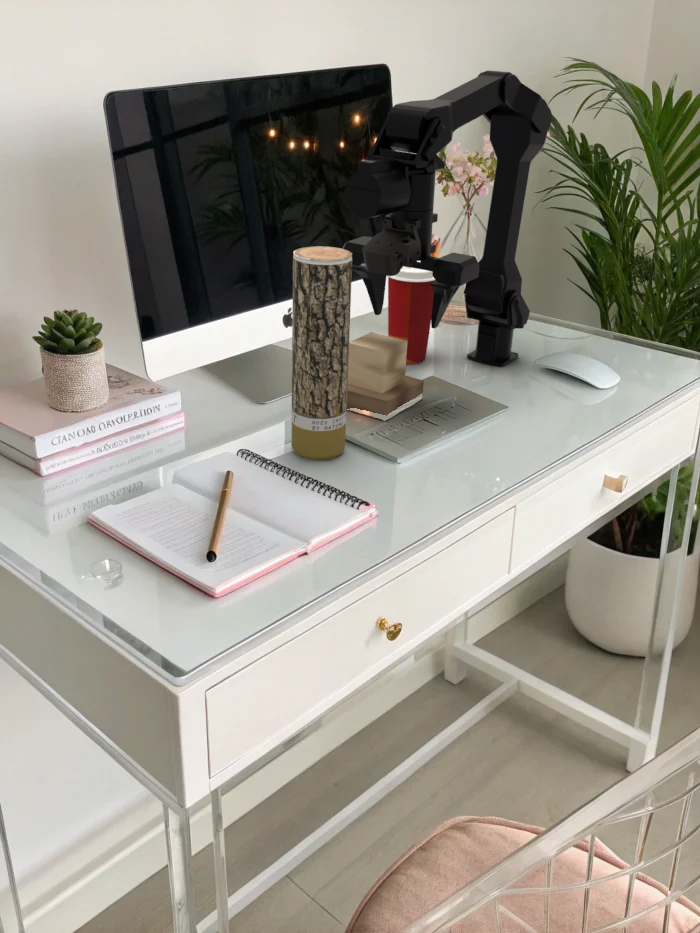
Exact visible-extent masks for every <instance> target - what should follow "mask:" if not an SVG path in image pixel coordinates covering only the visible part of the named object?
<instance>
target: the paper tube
mask: <svg viewBox="0 0 700 933" xmlns="http://www.w3.org/2000/svg"><path fill="white" fill-rule="evenodd" d="M292 253H293V255H292V315H291V316H292V318H291V319H292V326H291V327H292V328H291V329H292V330H291V332H292V336H291V338H292V340H291V342H292V343H291V348H292V349H291V447H292V448H291V449H292V450H293V451H294V453H295V454H297V455H298V456H300V457H302V458H305V459H308V460H314V461H315V460H319V461H320V460H322V461H324V460H330V459H333V458H336V457H338V456H340V455H341V454H342V452H344V450H345V449H346V448H345V447H346V434H347V433H346V429H347V412H348V410H347V385H348V359H349V342H350V333H351V332H350V331H351V329H350V327H351V326H350V325H351V303H352V302H351V300H352V279H353V278H352V275H353V273H352V272H353V270H352V253H351V252H350V251H348V250H345V249H342V248H341V247H333V246H322V245H321V246H315V245H314V246H305V247H301V248H297V249H295V250H293V252H292Z"/></svg>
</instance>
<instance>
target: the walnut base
mask: <svg viewBox="0 0 700 933" xmlns="http://www.w3.org/2000/svg"><path fill="white" fill-rule="evenodd" d="M424 383H425V381H424V379H421V378H420V379H419V378H415V377H412V376H409V375H405V381H404V382H403V383H401V384H399V385H397V386H395V387H393V388H392V389H390V390H388V391H386V392H384V393H383V394H382V393H378V392H375V391H371V390H368V389H364V388H361V387H357V386H353V385H350V384H348V385H347V409H350V408H357V409H360V410H366V411H370V412H373V413H378V414H382V415H386V416H387V415H388V414H389V413H391V412H392V411H394V410H396V409H397V408H398V407H400V406H402V405H403V404H405V403H407V402H409V401H410V400H412V399H414V398H416V397H417V396H419V395H420V394H422V393H423V394H424Z"/></svg>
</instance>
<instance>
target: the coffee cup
mask: <svg viewBox="0 0 700 933" xmlns="http://www.w3.org/2000/svg"><path fill="white" fill-rule="evenodd" d="M417 262H421V261H417ZM432 273H433V272H432V271H427V270H422V269H417V268H412V267H411V268H410V267H405V266H403V267H402V268H401V270H400V272H399V273H398V274H397V275H394V276H387V283H388V284H387V290H388V291H387V314H388V315H387V320H388V321H387V322H388V323H387V336H389V337H393V338H397V339H401V340H405V341H407V356H406V365H417V364H421V363H423V362H425V359H426V357H427V353H428V352H427V350H428V345H429V337H430V330H431V315H432V305H433V295H434V293H433V290H432V288H431V285H430V284H431V283H433V282H435V281H436V280H435V278H434V277H433V276H432Z"/></svg>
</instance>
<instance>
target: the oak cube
mask: <svg viewBox="0 0 700 933" xmlns="http://www.w3.org/2000/svg"><path fill="white" fill-rule="evenodd" d="M406 356H407V341H405V340H401V339H397V338H393V337H389V336H388V335H384V334H380V333H377V332H372V331H371V332H369V333H366V334H364V335H362V336H360V337H358V338H356V339H355V338H354V339H353V340H351V341H350V340H349V359H348V384H350V385H353V386H357V387H361V388H364V389H368V390H371V391H375V392H378V393H382V394H383V393H384V392H386V391H388V390H390V389H392V388H393V387H395V386H397V385H399V384H401V383H403V382H404V381H405V376H406V369H407V368H406V366H407V364H406Z"/></svg>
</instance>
